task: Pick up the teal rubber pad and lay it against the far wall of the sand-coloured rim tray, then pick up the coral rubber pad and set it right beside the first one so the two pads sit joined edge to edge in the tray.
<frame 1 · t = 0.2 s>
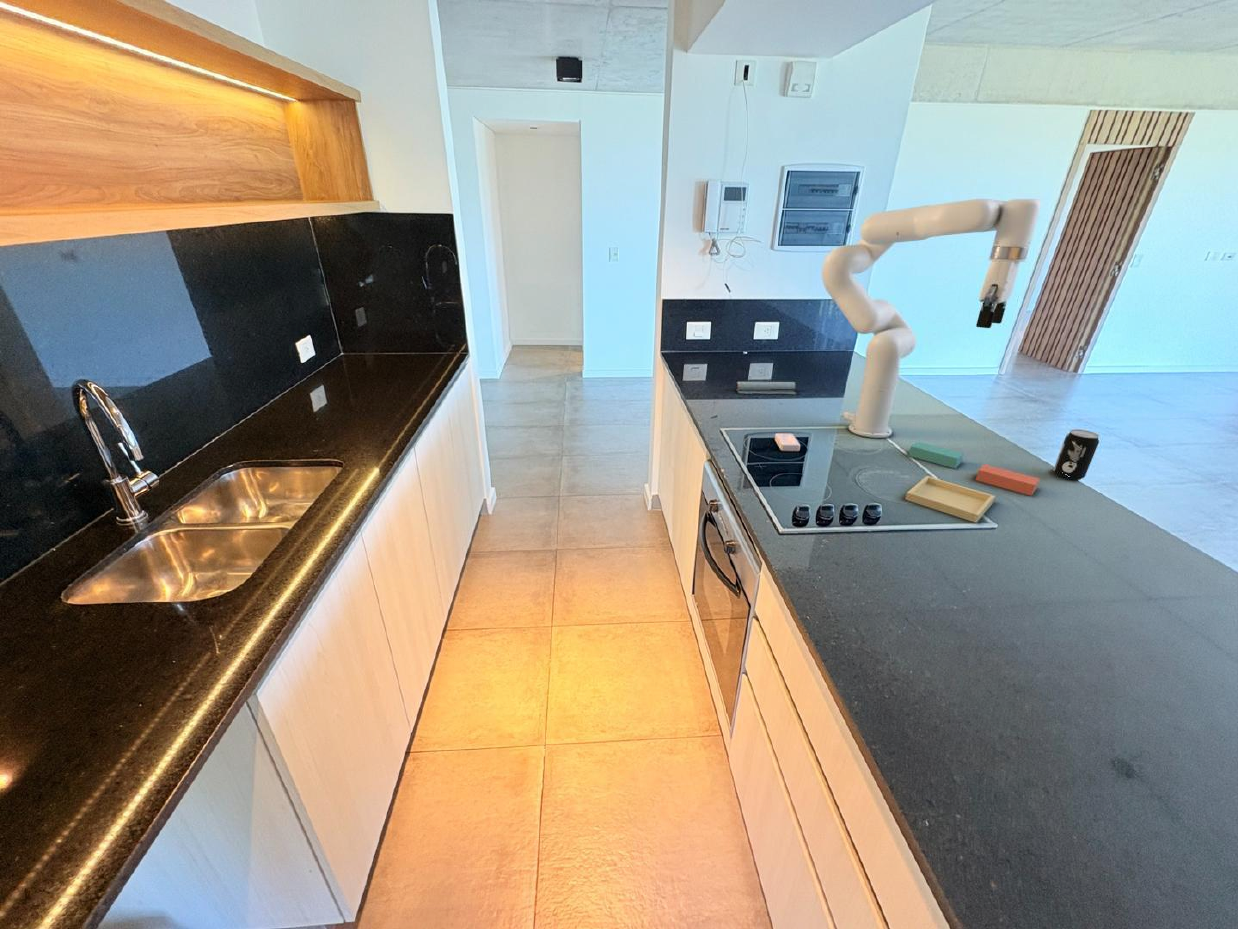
hand: (988, 325, 138), 36 cm above the worktop, tool pointing down, fingers open, 9 cm apart
pad a: (934, 459, 149), on the worktop
pad b: (1005, 484, 134), on the worktop
beverage can: (1067, 476, 139), on the worktop
tray: (948, 501, 126), on the worktop
soap bar: (786, 446, 158), on the worktop
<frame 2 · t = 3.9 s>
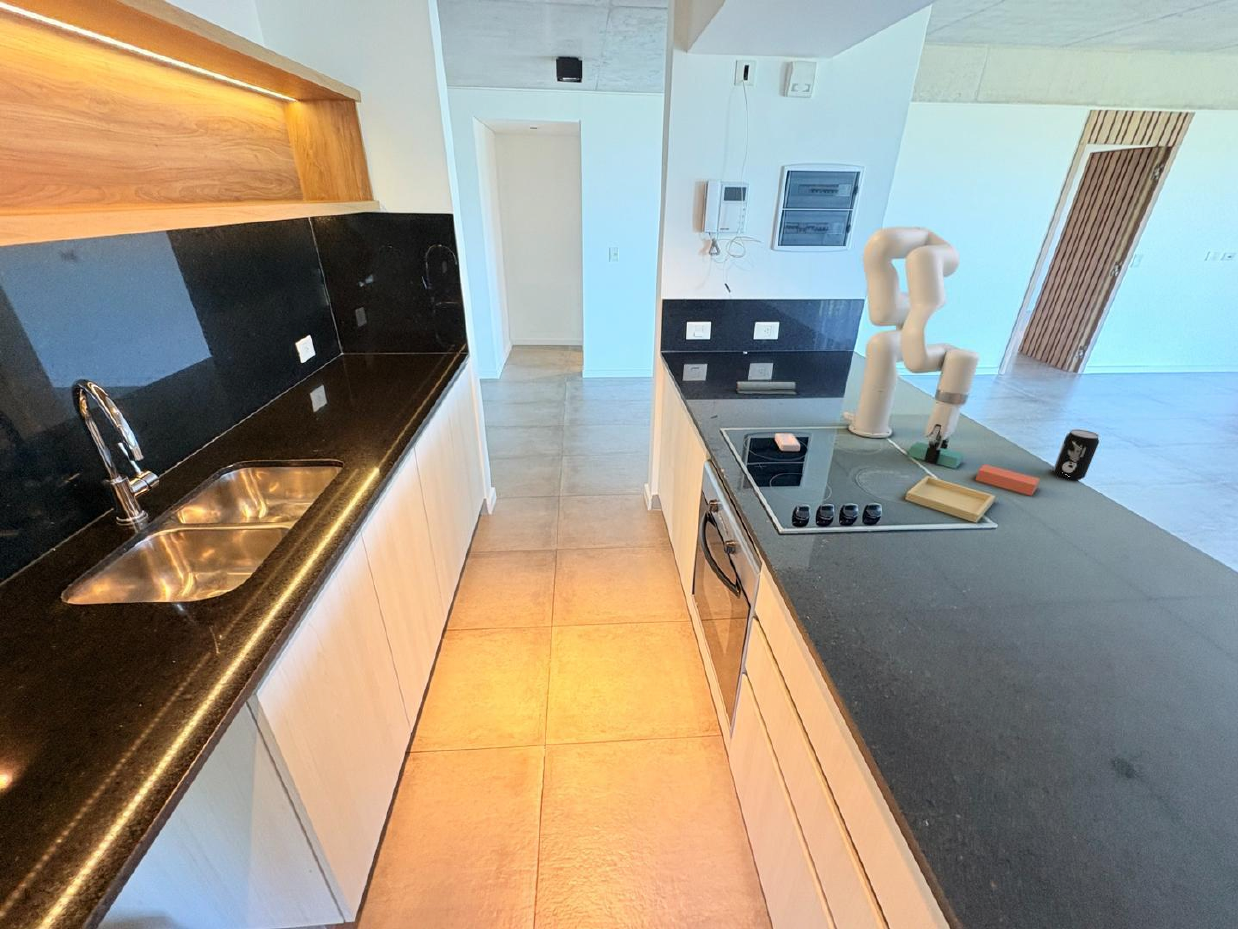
hand: (934, 458, 148), 0 cm above the worktop, tool pointing down, fingers closed on pad a, 5 cm apart
pad a: (934, 459, 149), on the worktop, touching gripper
everything else where it was.
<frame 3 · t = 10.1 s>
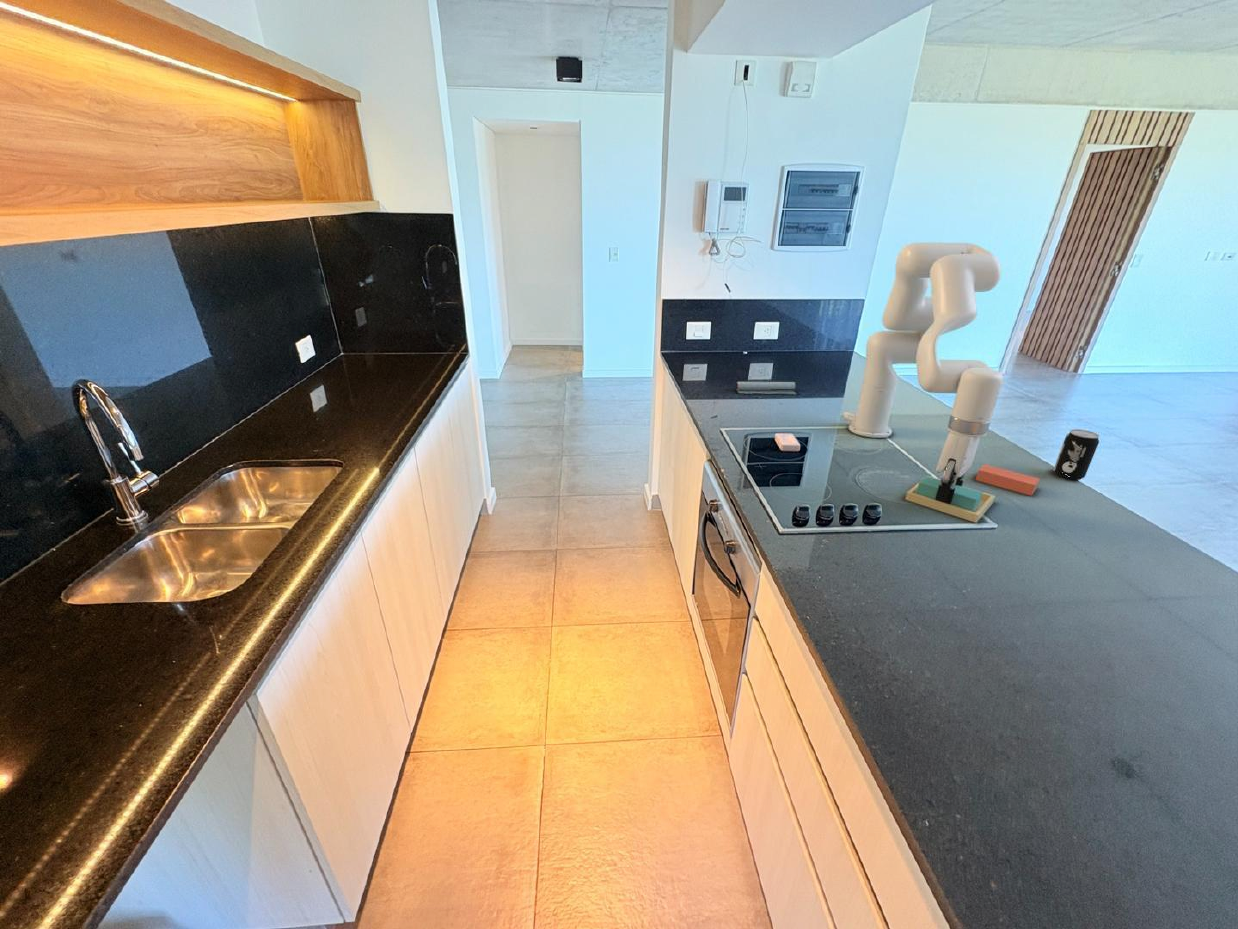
hand: (947, 497, 124), 2 cm above the worktop, tool pointing down, fingers closed on pad a, 5 cm apart
pad a: (947, 498, 124), point 2 cm above the worktop, touching gripper
everything else where it was.
when the fingers open (3 cm above the worktop, at t = 14.8 s): pad a drops 2 cm, resting on tray.
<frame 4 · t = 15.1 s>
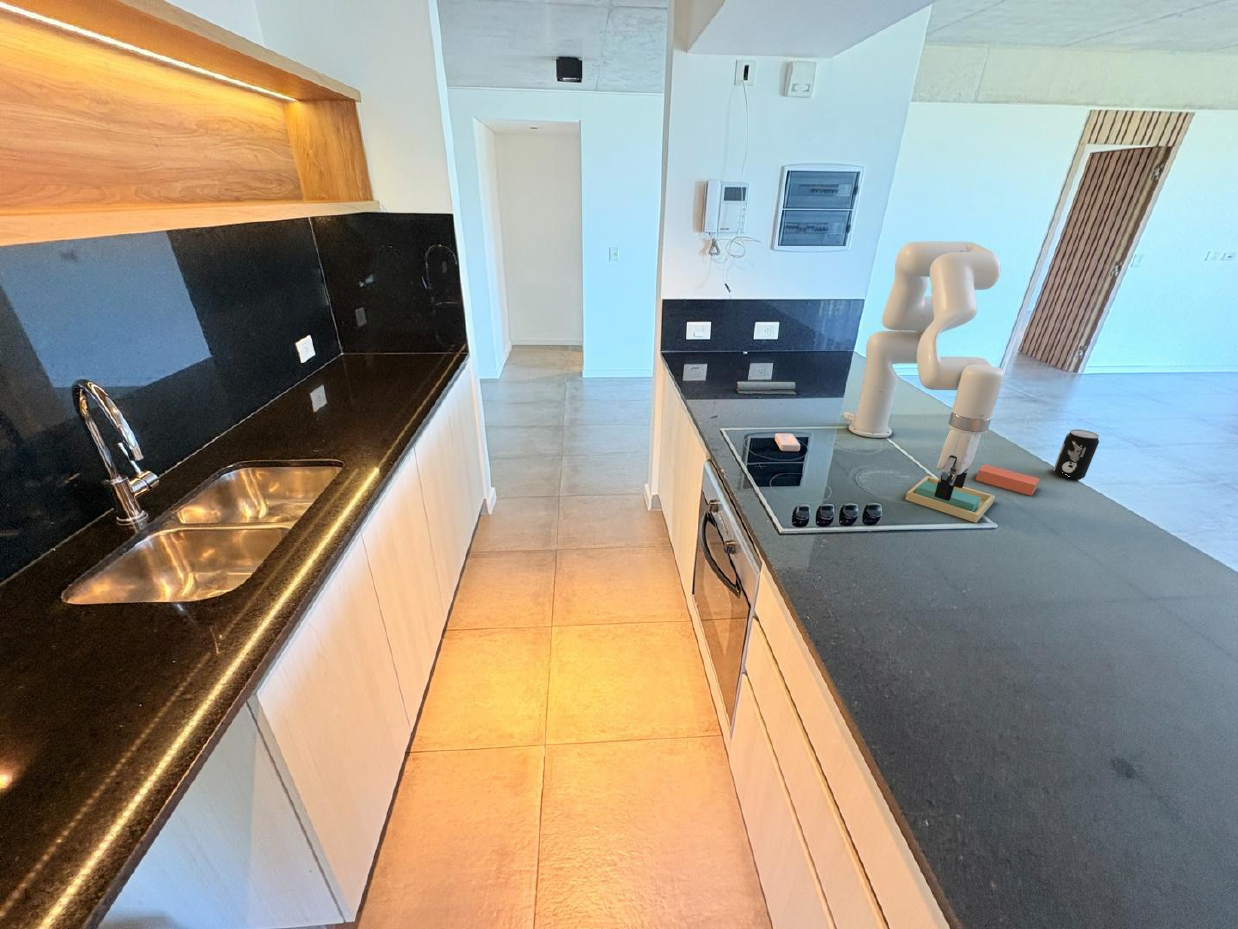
hand: (948, 492, 123), 4 cm above the worktop, tool pointing down, fingers open, 8 cm apart
pad a: (945, 503, 124), resting on tray
everything else where it was.
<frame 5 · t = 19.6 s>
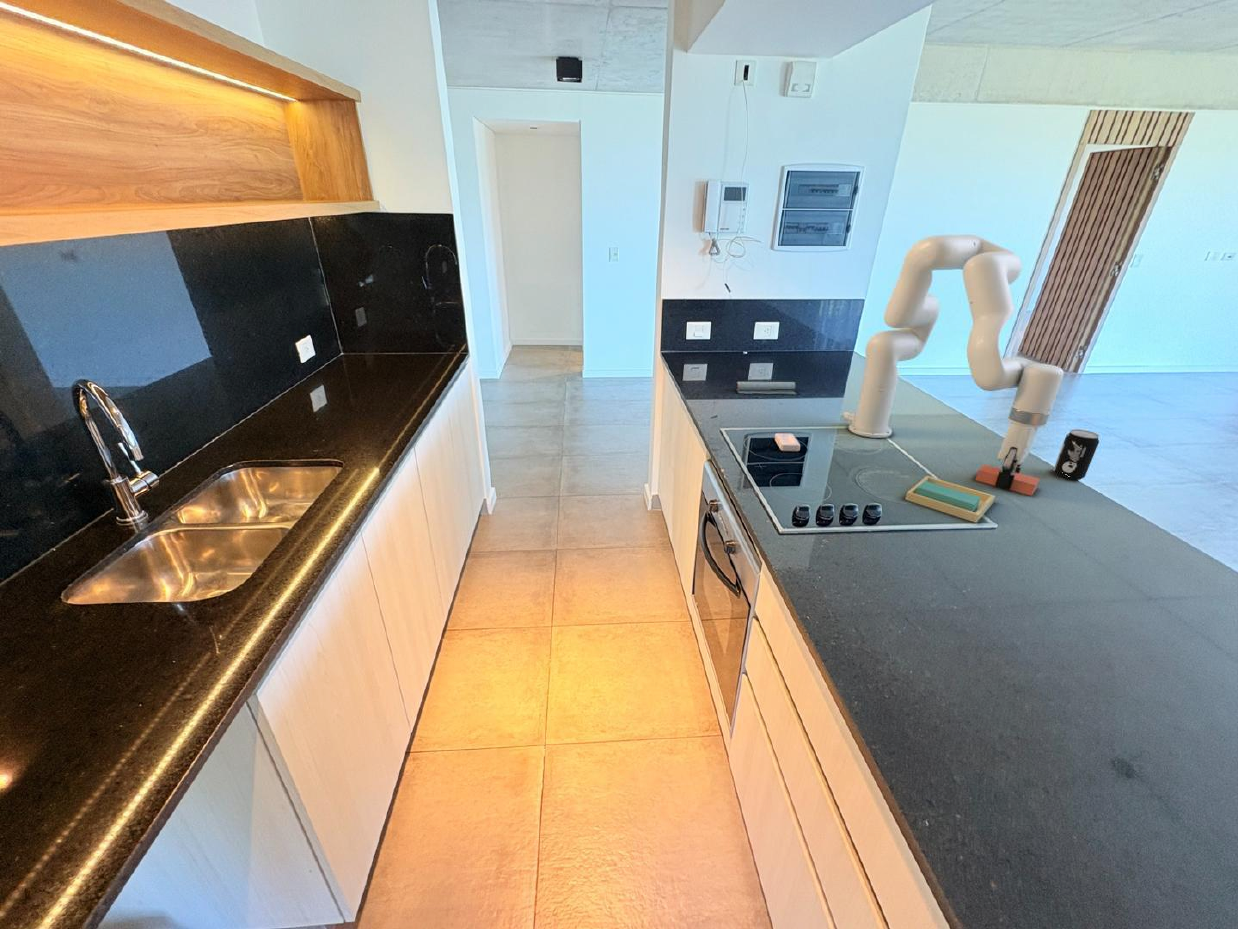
hand: (1005, 483, 134), 0 cm above the worktop, tool pointing down, fingers closed on pad b, 5 cm apart
pad b: (1005, 484, 134), on the worktop, touching gripper
everything else where it was.
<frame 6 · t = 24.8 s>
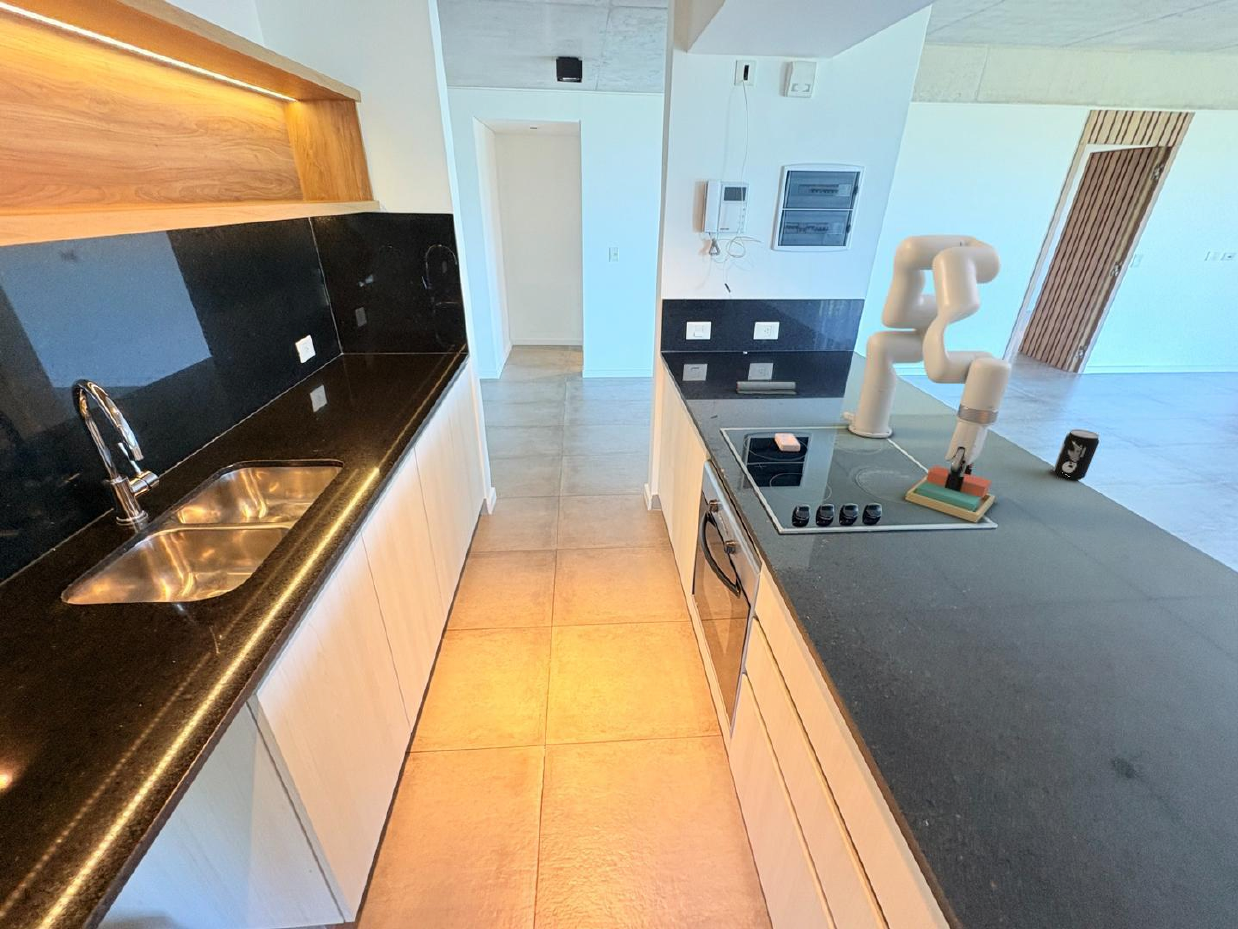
hand: (956, 485, 126), 4 cm above the worktop, tool pointing down, fingers closed on pad b, 5 cm apart
pad a: (945, 503, 125), resting on tray, touching gripper, pad b
pad b: (956, 487, 126), point 3 cm above the worktop, touching gripper, pad a
everything else where it was.
when the fingers open (4 cm above the worktop, at t = 25.1 s): pad b drops 3 cm, resting on tray.
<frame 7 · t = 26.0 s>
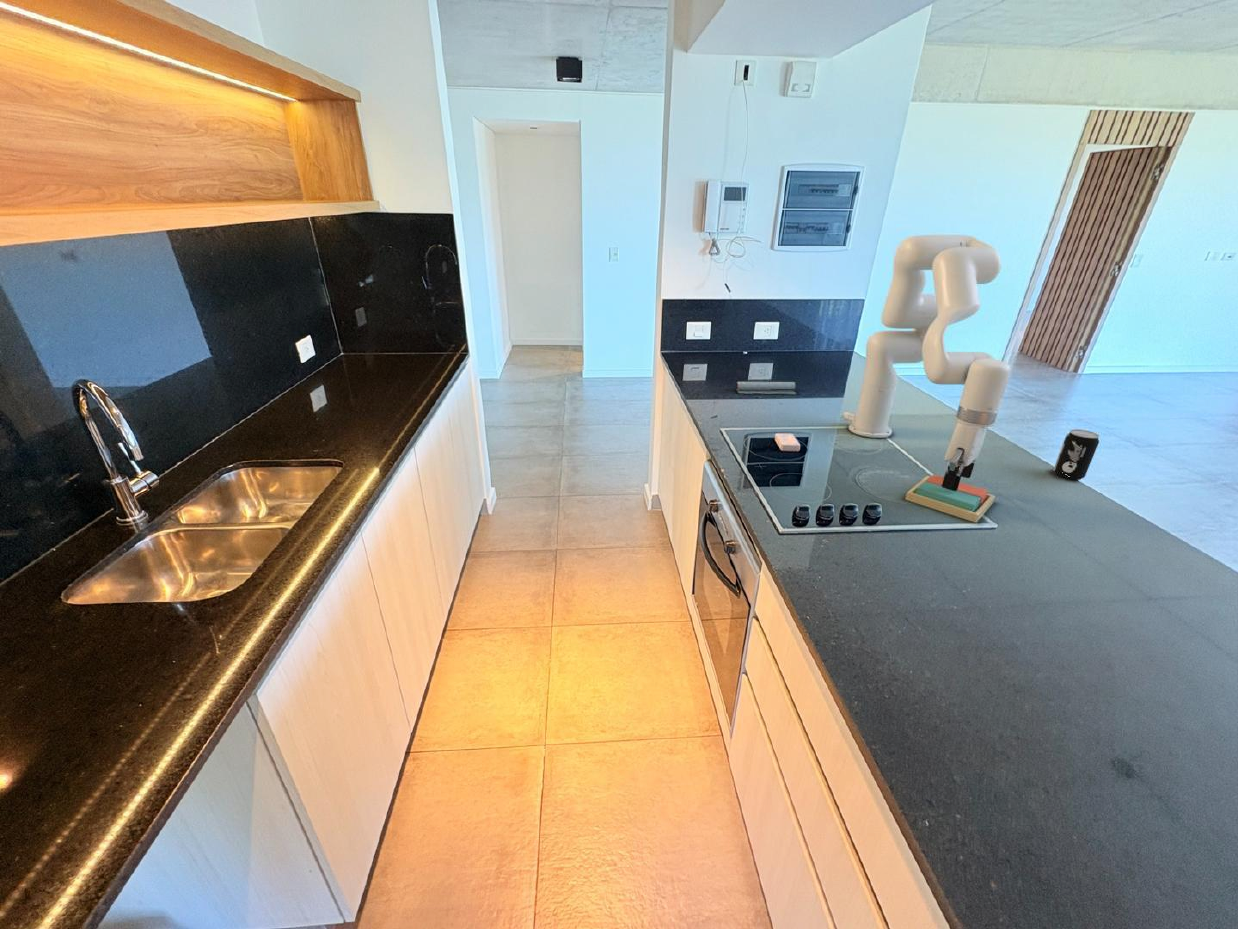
hand: (955, 482, 127), 4 cm above the worktop, tool pointing down, fingers open, 9 cm apart
pad a: (945, 503, 124), resting on tray
pad b: (953, 496, 128), resting on tray
everything else where it was.
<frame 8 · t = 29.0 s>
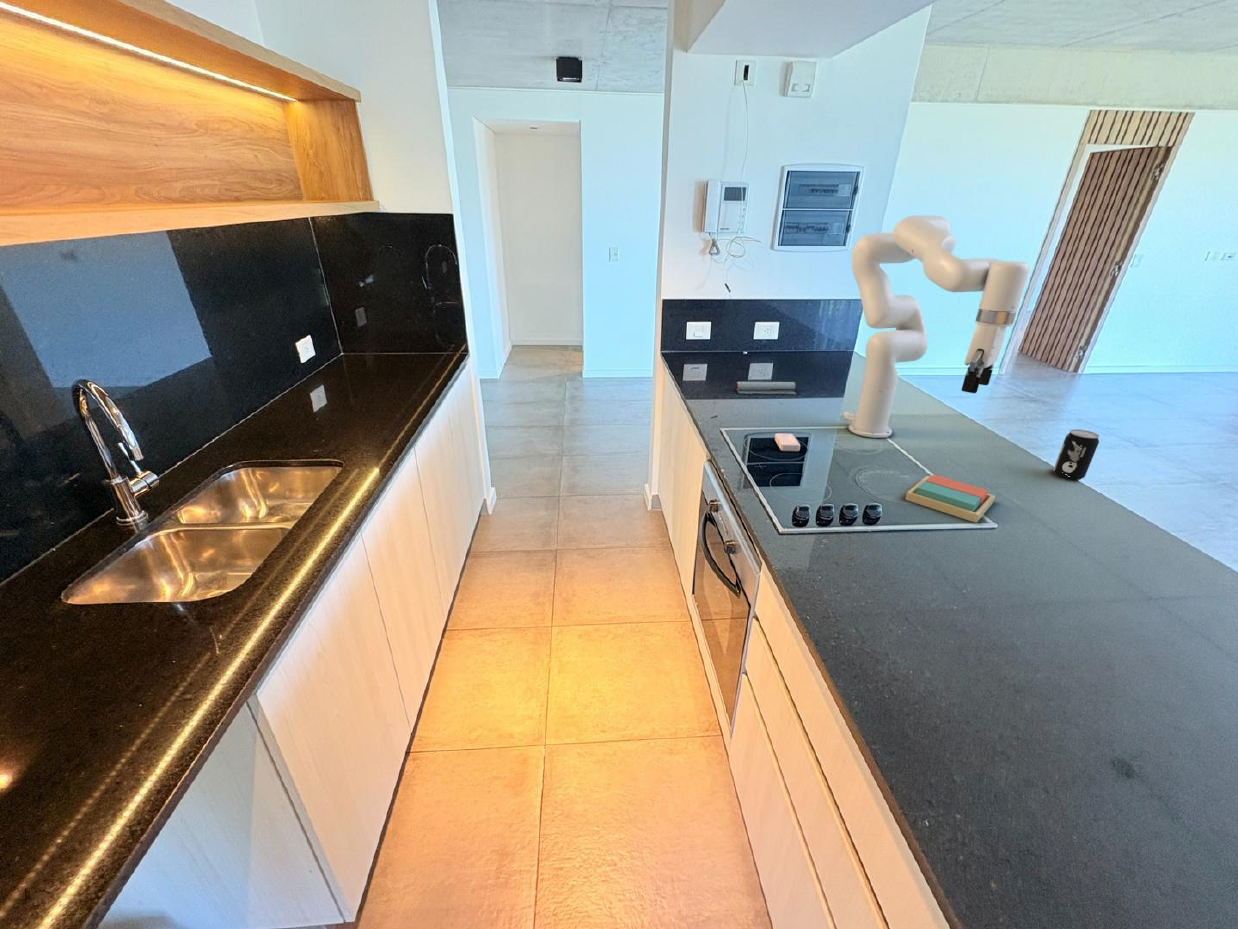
hand: (974, 388, 131), 23 cm above the worktop, tool pointing down, fingers open, 9 cm apart
nothing on the worktop moved.
at the end: pad a inside the target area in the tray (2.9 cm from its centre), point 0.5 cm above the tray's base; pad b inside the target area in the tray (2.5 cm from its centre), point 0.5 cm above the tray's base; pad b 5.4 cm from the pad a (horizontally) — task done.
